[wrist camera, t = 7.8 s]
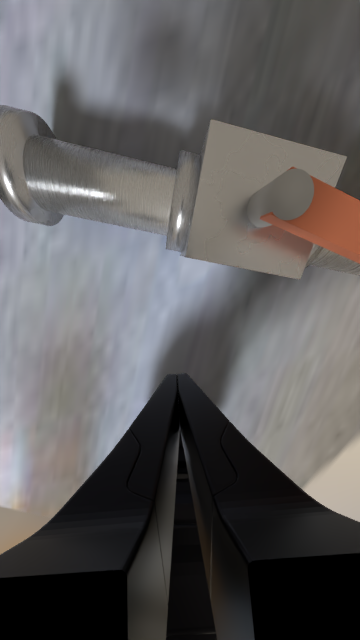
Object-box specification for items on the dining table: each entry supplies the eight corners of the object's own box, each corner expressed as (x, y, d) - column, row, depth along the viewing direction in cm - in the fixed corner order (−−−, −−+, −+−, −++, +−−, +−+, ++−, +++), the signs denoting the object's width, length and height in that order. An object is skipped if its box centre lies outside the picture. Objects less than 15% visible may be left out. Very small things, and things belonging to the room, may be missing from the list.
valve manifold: (360, 291, 21) (447, 308, 14) (52, 230, 18) (-19, 217, 11) (394, 221, 19) (516, 203, 12) (49, 136, 15) (-41, 49, 9)
